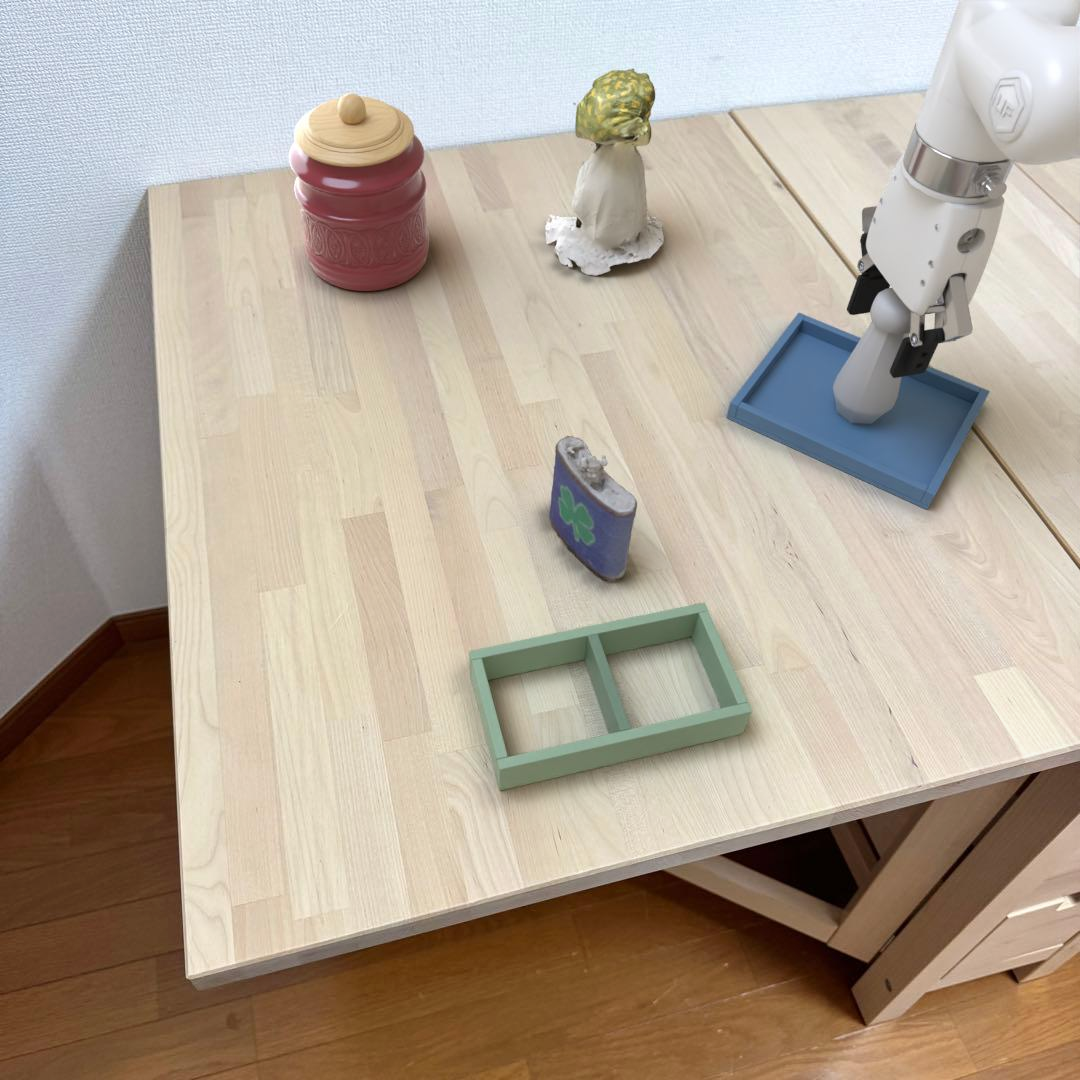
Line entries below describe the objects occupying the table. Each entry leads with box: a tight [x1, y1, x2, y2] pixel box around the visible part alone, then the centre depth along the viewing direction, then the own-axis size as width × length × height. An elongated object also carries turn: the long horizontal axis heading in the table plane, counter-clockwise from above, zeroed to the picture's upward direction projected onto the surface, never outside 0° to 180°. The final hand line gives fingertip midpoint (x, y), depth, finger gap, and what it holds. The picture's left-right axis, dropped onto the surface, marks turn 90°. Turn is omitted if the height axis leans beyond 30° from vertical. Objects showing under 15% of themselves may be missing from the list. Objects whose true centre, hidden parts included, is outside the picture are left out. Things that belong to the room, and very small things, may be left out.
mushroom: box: [545, 68, 665, 277], centre depth 102 cm, size 12×13×18 cm
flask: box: [548, 435, 638, 583], centre depth 79 cm, size 9×3×11 cm, turn 34°
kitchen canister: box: [288, 92, 430, 292], centre depth 99 cm, size 13×13×18 cm
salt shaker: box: [833, 287, 911, 424], centre depth 89 cm, size 6×6×13 cm
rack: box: [468, 601, 753, 791], centre depth 73 cm, size 18×10×4 cm, turn 105°
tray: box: [726, 312, 991, 511], centre depth 94 cm, size 20×16×2 cm
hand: (884, 340), depth 87 cm, fingers open, 7 cm apart
